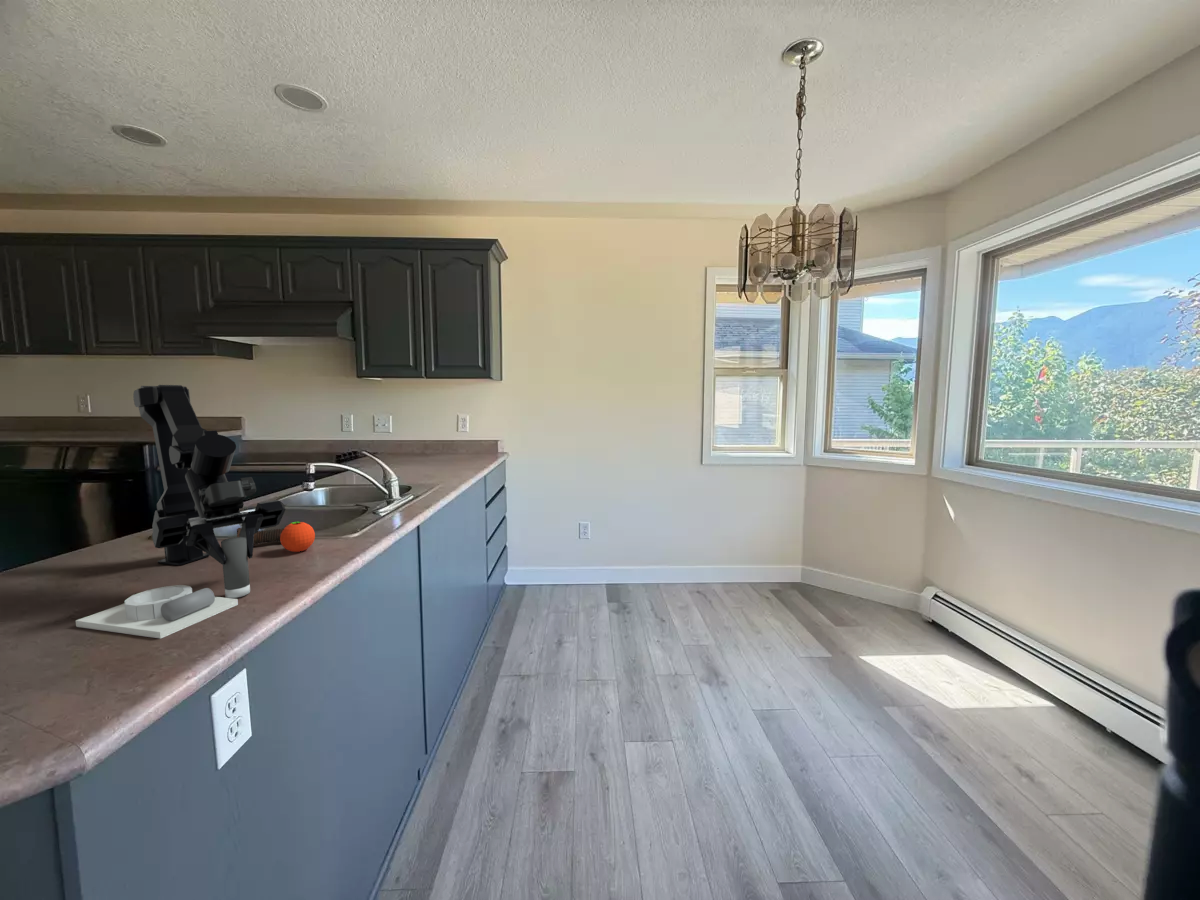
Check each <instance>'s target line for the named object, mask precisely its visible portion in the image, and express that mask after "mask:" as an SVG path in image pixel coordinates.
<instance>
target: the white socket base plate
mask: <svg viewBox="0 0 1200 900" xmlns="http://www.w3.org/2000/svg"><path fill="white" fill-rule="evenodd" d="M238 600H239V599H238V598H226V597H223V596H222V597H221V596H215V593H214V591H213V590H212V589H211V588H209V587H204V588H201V589H199V590H196V591H193V588H192V586H190V585H185V584H176V585H166V586H161V587H157V588H156V587H155V588H152V589H147V590H144V591H141V592H138V593H136V594H135V593H134V594H131V596H129V597H128V598H126V599H125V600H124V603H122V604H119V605H116V606H112V607H110V608H107V609H105V610H102V611H99V612H96V613H94V614H90V615H88V616H84V617H82V618H78V619H76V620H75V627H76V628H83V629H90V630H98V631H103V632H111V633H119V634H126V635H133V636H140V637H146V638H147V637H148V638H155V639H161V640H162V639H163V638H166V637H167V636H170V635H173V634H174V633H177V632H179V631H181V630H184V629H185V628H188V627H190V626H193V625H196V624H198V623H200V622H202V621H205V620H206V619H208V618H211V617H213V616H215V615H217V614H220V613H222V612H225V611H227V610H229V609H231V608H234V607H236V606H238V605H239V601H238Z"/></svg>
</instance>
